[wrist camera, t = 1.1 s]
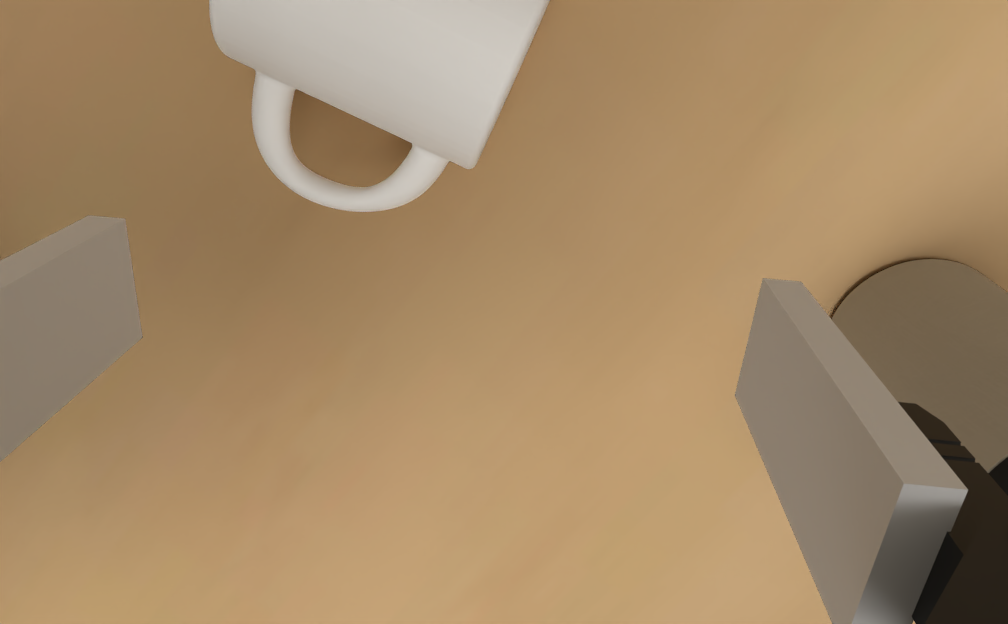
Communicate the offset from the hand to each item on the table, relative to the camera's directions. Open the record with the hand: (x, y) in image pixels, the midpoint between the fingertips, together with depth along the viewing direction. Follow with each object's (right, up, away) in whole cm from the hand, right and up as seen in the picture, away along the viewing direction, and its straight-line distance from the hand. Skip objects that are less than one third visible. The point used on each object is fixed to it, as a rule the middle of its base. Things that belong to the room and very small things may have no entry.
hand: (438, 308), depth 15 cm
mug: (-3, +11, +16) cm, 20 cm away
